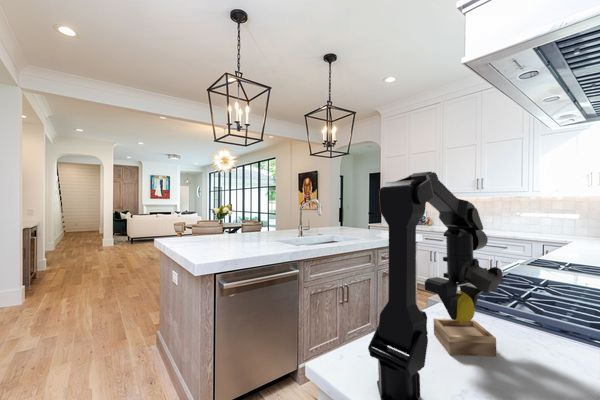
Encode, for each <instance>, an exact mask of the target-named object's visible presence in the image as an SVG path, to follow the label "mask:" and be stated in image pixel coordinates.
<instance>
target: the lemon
mask: <svg viewBox="0 0 600 400" xmlns="http://www.w3.org/2000/svg"><path fill="white" fill-rule="evenodd" d="M458 293H459V294H463V295H462V296H461V297H460V298H459V299H458V301H457V317H456V320H457V321H459V322H460V323H461V324H464V323H465V322H468V321H470V320H473V318H474V316H475V310H476V309H475V308H474V304H473V301H472V299H471V298H470V297H469V296H468V295H467V294H465V293H463V292H462V291H461V290H460V291H458Z"/></svg>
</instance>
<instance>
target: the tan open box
mask: <svg viewBox="0 0 600 400" xmlns="http://www.w3.org/2000/svg"><path fill="white" fill-rule="evenodd" d="M433 336H434V337H435V338H436V339H437V341H439V343H440V344H441V346H442V347H443V348H444V350H445V351H446V352H447V354H448V355H449V356H470V357H472V356H473V357H495V358H496V357H498V356H497V337H495V336H494V335H493V334H492V333H491V332H490V331H488V330H487V329H486V328H484V326H482V325H481V324H480V323H479V322H477V321H476V320H475V319H471V320H470V321H468V322H465V323H464V324H461V323H460V322H459V321H457V320H453V319H451V318H433Z"/></svg>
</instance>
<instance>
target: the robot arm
mask: <svg viewBox="0 0 600 400" xmlns="http://www.w3.org/2000/svg"><path fill="white" fill-rule="evenodd" d="M378 200H379V208H380V209H379V210H380V215H382V217H383V219H384V221H385V222H386V224H387V226H388V269H387V271H388V277H387V279H388V286H387V287H388V288H387V289H388V291H387V292H388V293H387V297H388V298H387V302H386V304H385V306H384V307H383V308H382V310H381V311H380V312H379V320H378V325H377V327H376V330H375V331H374V333H373V336H372V338H371V341H370V342H369V345H368V347H367V348H368V349H367V350H368V353H369V355H370V357H372V358H374V359H377V366H378V367H377V368H378V370H377V371H378V373H377V374H378V380H377V381H376V385H377V388H378V392H379V393H378V394H379V397H380V400H419V398H420V397H421V378H420V377H421V375H420V373H419V371H421V370H422V369H423V368H424V367H425V364H426V359H427V358H426V356H427V350H428V341H429V339H428V334H429V333H428V325H427V323H428V316H427V313H426V311H424V310H420V309H419V306H418V305H417V296H416V295H417V285H416V284H417V282H416V281H417V271H416V270H417V267H416V266H417V260H416V259H417V254H416V253H417V251H416V250H417V225H419V222H420V221H421V220H422V218H423V216H424V215H425V213H426V206H427V203H428V204H429V205H431V207H433V208H434V209H435V210H436V211H437V212H438V213H439V214H438V218H439V220H440V221H441V223H442V224H443V225H444V226H445V227H446V230H445V231H444V232H443V237H445V239H446V256H443V257H442V261H443V262H446V269H447V271H446V272H444V273H443V278H442V277H438V276H436V277H430V278H427V279H426V280H424V290H425V291H427V292H429V293H433V294H436V295H437V296H438V297H439V299H440V301H441V302H442V304H443V305H444V307H445V310H446V312H447V313H448V315H449V317H450V319H453V320H456V317H457V301H458V299H459V298H460V297H461V296H462V295H463V294H459V293H458V292H459V291H458V289H459V290H460V291H462V292H463V293H465V294H467V295H468V296H469V297H470V298H471V299H472V301H473V304H474V309H475V307H476V306H477V302H478V299H479V297H480V295H482V294H483V293H485V294H488V293H490V292H496V291H498V287H499V286H500V285H501V284H503V283H504V279H503V278H504V277H503V271H502V269H501V268H499V267H497V266H494V267H493V266H492V267H490V268H487V267H482V266H480V264H479V263H480V261H479V260H478V258H474V251H477V250H481V249H483V248H485V247H486V245H487V244H488V239H489V238H488V235H487V234H486V232H484V231H483V230H484V226H483V222H482V220H481V217H480V214H479V211H478V209H477V208H476V207H475V205H474V204H473V203H471V202H470V201H468V200H466V199H461V198H458V197H457V196H455V195H454V194H453V193H452V192H451V191H450V190H449V189H448V187H446V186H445V184H444V183H442V182H441V181H440V180H439V177H438V174H437V173H436V172H434V171H433V172H432V171H424V172H423V171H422V172H415V173H412V174H410V175H408V176H407V177H404V178H401V179H398V180H395V181H387V182H385V183H384V184H383V185H382V186H381V187H380V189H379V192H378Z"/></svg>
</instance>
